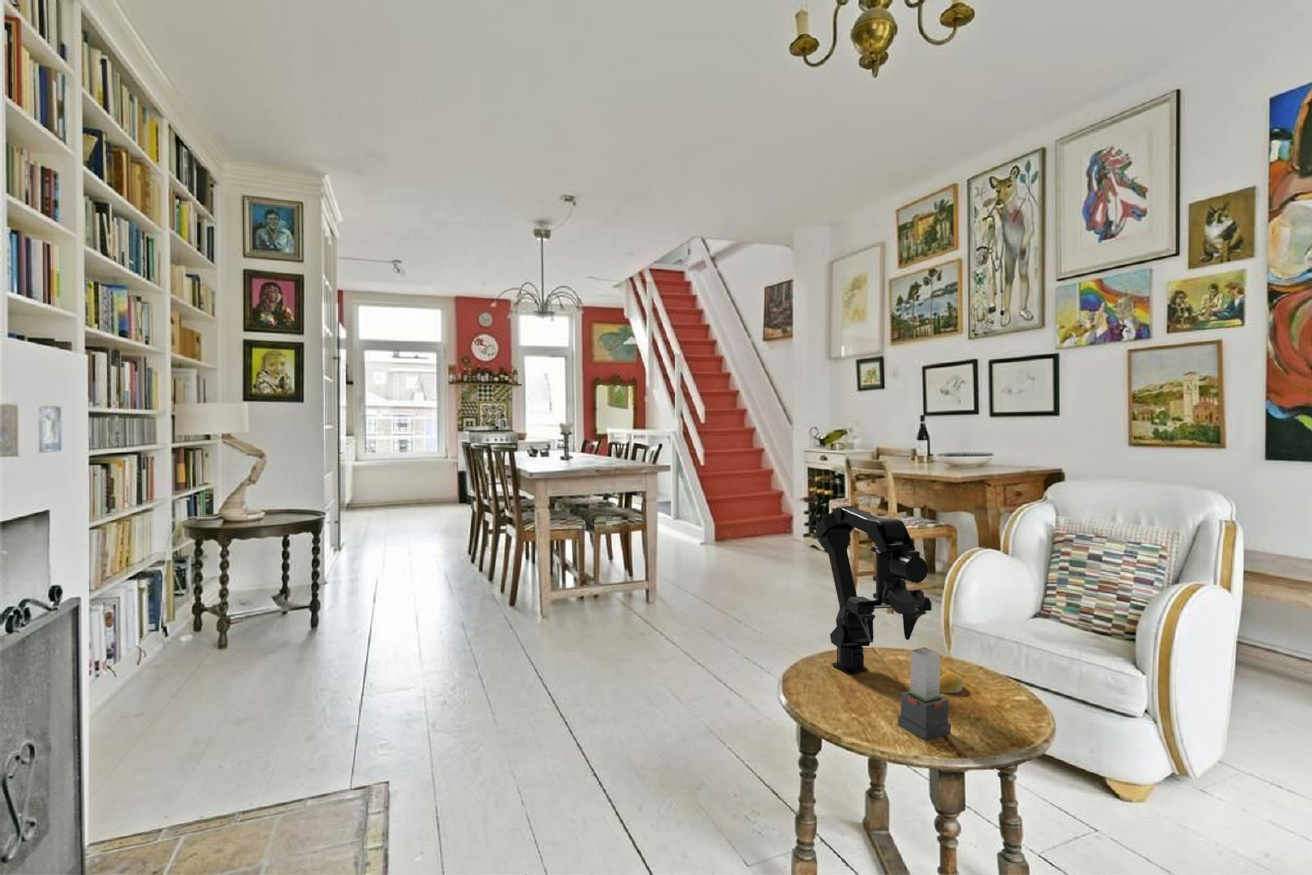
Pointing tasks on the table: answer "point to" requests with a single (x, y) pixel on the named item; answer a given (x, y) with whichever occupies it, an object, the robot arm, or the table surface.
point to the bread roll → (950, 683)
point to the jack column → (925, 675)
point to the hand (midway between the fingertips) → (889, 640)
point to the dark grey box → (924, 717)
